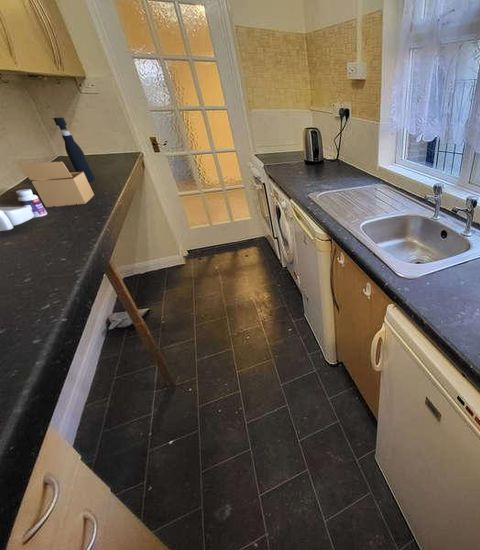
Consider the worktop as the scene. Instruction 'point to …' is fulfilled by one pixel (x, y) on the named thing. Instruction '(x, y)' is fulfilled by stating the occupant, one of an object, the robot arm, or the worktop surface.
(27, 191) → the pill bottle
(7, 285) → the worktop surface
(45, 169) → the carton flap
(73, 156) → the folded umbrella
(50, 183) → the carton
